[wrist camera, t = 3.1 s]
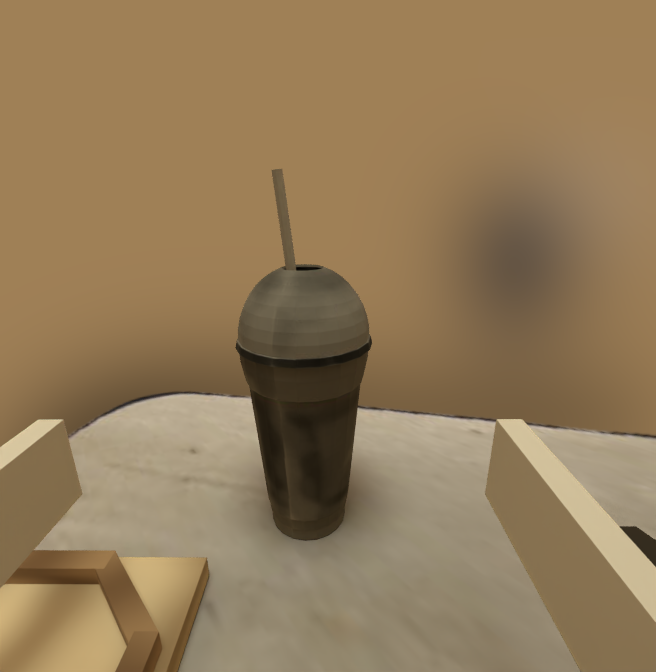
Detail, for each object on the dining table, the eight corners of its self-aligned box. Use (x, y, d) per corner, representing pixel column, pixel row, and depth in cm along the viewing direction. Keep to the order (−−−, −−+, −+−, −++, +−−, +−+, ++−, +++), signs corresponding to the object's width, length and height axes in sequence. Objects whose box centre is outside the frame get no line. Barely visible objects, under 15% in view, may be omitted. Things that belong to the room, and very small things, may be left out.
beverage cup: (390, 524, 23) (411, 167, 17) (283, 585, 20) (258, 156, 13) (326, 461, 29) (323, 177, 23) (233, 499, 25) (200, 172, 19)
